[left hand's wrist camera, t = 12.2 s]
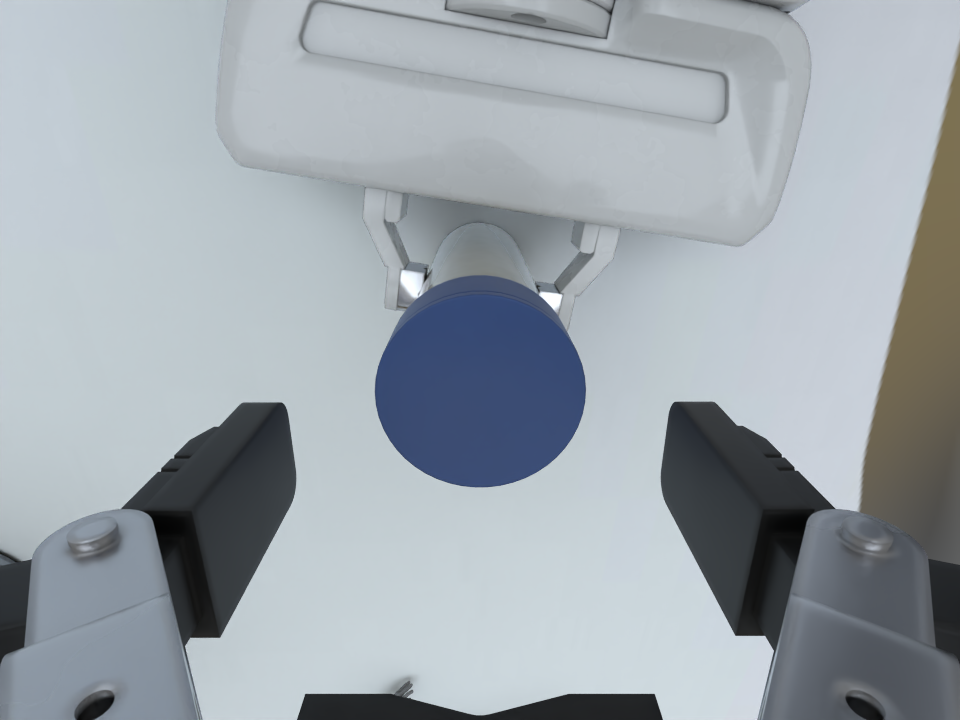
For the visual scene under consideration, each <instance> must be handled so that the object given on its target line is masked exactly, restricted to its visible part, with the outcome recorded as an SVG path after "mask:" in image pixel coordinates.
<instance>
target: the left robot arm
mask: <svg viewBox="0 0 960 720" xmlns="http://www.w3.org/2000/svg"><path fill="white" fill-rule="evenodd" d="M661 487H662V493H663V497H664V500H665V502H666V505H667V506H668V508H669V510H670V512H671V514H672V516H673V518H674V520H675V522H676V524H677V525H678V527H679V529H680V531H681V533H682V535H683V537H684V539H685V541H686V543H687V544H688V546H689V548H690V550H691V552H692V554H693V556H694V558H695V560H696V562H697V563H698V565H699V567H700V569H701V571H702V573H703V575H704V577H705V579H706V581H707V582H708V584H709V586H710V588H711V590H712V592H713V594H714V596H715V598H716V600H717V601H718V603H719V605H720V607H721V609H722V611H723V613H724V615H725V617H726V619H727V620H728V622H729V624H730V626H731V628H732V630H733V632H734V634H735V636H766V638H767V640H768V641H769V643H770V645H771V646H772V648H773V650H774V653H773V657H772V661H771V665H770V669H769V673H768V677H767V682H766V686H765V690H764V694H763V698H762V702H761V707H760V711H759V715H758V719H757V720H960V565H956V564H951V563H946V562H941V561H936V560H931V559H928V557H927V554H926V552H925V551H924V549H923V548H922V546H921V545H920V544H919V543H918V542H917V541H916V540H915V539H914V538H912V537H911V536H910V535H908V534H907V533H906V532H904V531H903V530H901V529H899V528H898V527H896V526H894V525H892V524H890V523H888V522H886V521H883V520H881V519H879V518H876V517H873V516H870V515H867V514H863V513H860V512H855V511H850V510H842V509H835V508H834V507H833V506H832V505H831V504H830V503H829V502H828V501H827V500H826V499H825V498H824V497H823V496H822V495H821V494H820V493H819V492H818V491H817V490H816V489H815V488H814V487H813V486H812V485H811V484H810V483H809V482H808V481H807V480H806V479H805V478H804V477H803V476H802V475H801V474H800V473H799V472H798V471H795V470H794V466H793V465H792V464H791V463H790V462H789V461H788V460H787V459H786V458H782V454H781V453H780V452H779V451H778V450H777V449H776V448H775V447H774V446H773V445H772V444H771V443H770V442H769V441H768V440H767V439H765V438H763V437H762V436H760V435H758V434H756V433H754V432H753V431H751V430H749V429H747V428H745V427H744V426H737V425H736V424H735V423H734V422H733V421H732V420H731V419H730V418H729V417H728V416H727V414H726V413H725V412H724V411H723V410H722V409H721V408H720V407H719V406H718V405H717V404H716V403H715V402H674V403H673V404H672V406H671V408H670V411H669V416H668V424H667V431H666V438H665V446H664V453H663V460H662V468H661ZM295 488H296V468H295V461H294V454H293V446H292V439H291V432H290V425H289V418H288V412H287V409H286V407H285V405H284V404H283V403H241V404H240V405H239V406H238V407H237V408H236V409H235V410H234V412H233V413H232V414H231V415H230V416H229V417H228V418H227V419H226V420H225V421H224V422H223V423H222V424H221V425H220V426H219V427H213V428H211V429H209V430H207V431H205V432H204V433H202V434H200V435H198V436H196V437H195V438H193V439H191V440H189V441H188V442H187V443H186V444H185V445H184V446H183V447H182V448H181V449H180V450H179V451H178V452H177V453H176V454H175V455H174V459H170V460H169V461H168V462H167V463H166V464H165V465H164V466H163V467H162V468H161V472H157V473H156V474H155V475H154V476H153V477H152V478H151V479H150V480H149V481H148V482H147V483H146V484H145V485H144V486H143V487H142V488H141V489H140V490H139V491H138V492H137V493H136V494H135V495H134V496H133V497H132V498H131V499H130V500H129V501H128V502H127V503H126V504H125V505H124V506H123V507H122V508H121V509H118V510H110V511H105V512H100V513H97V514H93V515H90V516H87V517H84V518H81V519H79V520H77V521H74V522H72V523H70V524H68V525H66V526H64V527H62V528H61V529H59V530H57V531H56V532H54V533H53V534H52V535H50V536H49V537H48V538H46V539H45V540H44V541H43V542H42V543H41V544H40V545H39V546H38V548H37V549H36V551H35V552H34V554H33V557H32V560H27V561H22V562H17V563H16V562H14V561H13V560H11V559H9V558H8V557H6V556H4V555H2V554H0V720H203V719H202V715H201V711H200V707H199V702H198V698H197V694H196V690H195V686H194V682H193V677H192V673H191V669H190V665H189V661H188V657H187V653H186V649H185V645H186V644H187V642H188V640H189V639H190V638H220V637H221V635H222V633H223V631H224V629H225V627H226V626H227V624H228V622H229V620H230V618H231V616H232V614H233V612H234V611H235V609H236V607H237V605H238V603H239V601H240V599H241V597H242V596H243V594H244V592H245V590H246V588H247V586H248V584H249V582H250V581H251V579H252V577H253V575H254V573H255V571H256V569H257V567H258V566H259V564H260V562H261V560H262V558H263V556H264V554H265V552H266V551H267V549H268V547H269V545H270V543H271V541H272V539H273V537H274V536H275V534H276V532H277V530H278V528H279V526H280V524H281V522H282V521H283V519H284V517H285V515H286V513H287V511H288V509H289V507H290V506H291V503H292V501H293V498H294V494H295ZM297 720H663V719H662V715H661V712H660V709H659V706H658V703H657V700H656V697H655V694H567V695H563V696H559V697H555V698H551V699H547V700H544V701H540V702H536V703H532V704H528V705H524V706H520V707H516V708H513V709H509V710H505V711H501V712H497V713H493V714H489V715H471V714H467V713H463V712H459V711H455V710H451V709H447V708H444V707H440V706H436V705H432V704H428V703H424V702H420V701H416V700H413V699H409V698H405V697H401V696H397V695H393V694H305V697H304V700H303V703H302V706H301V709H300V712H299V715H298V719H297Z"/></svg>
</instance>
